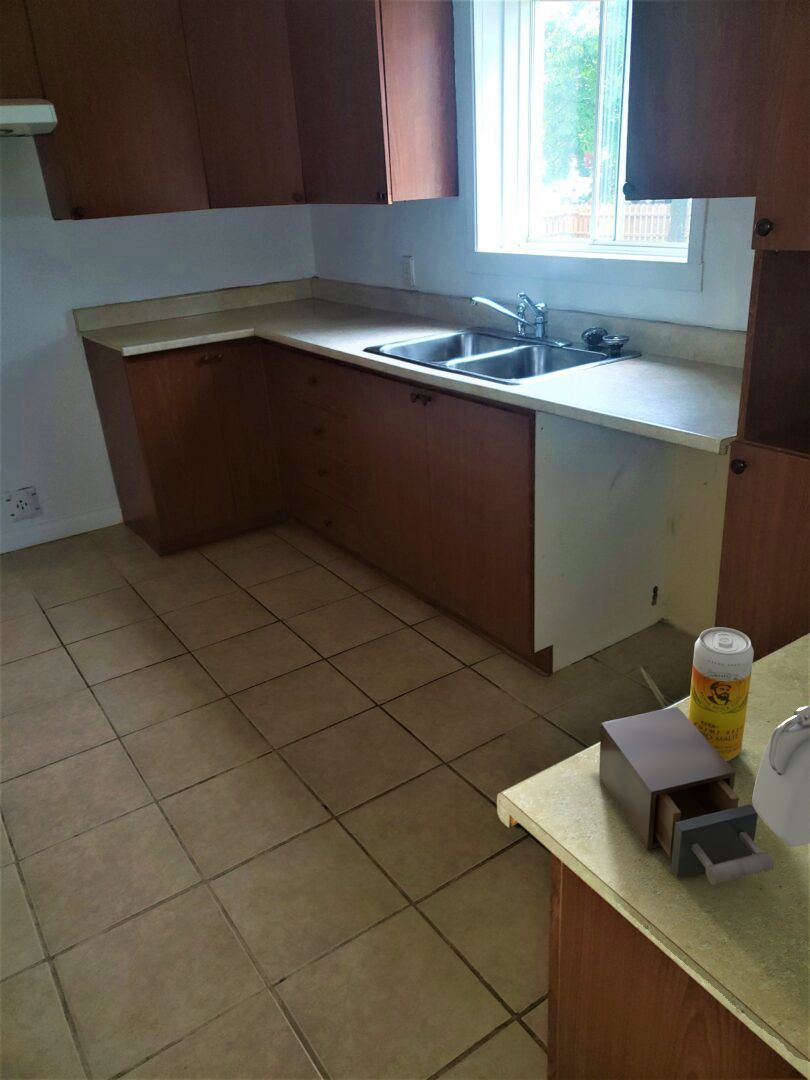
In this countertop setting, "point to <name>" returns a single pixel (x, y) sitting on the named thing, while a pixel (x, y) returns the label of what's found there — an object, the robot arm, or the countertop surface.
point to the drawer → (709, 833)
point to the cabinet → (655, 763)
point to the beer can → (721, 688)
